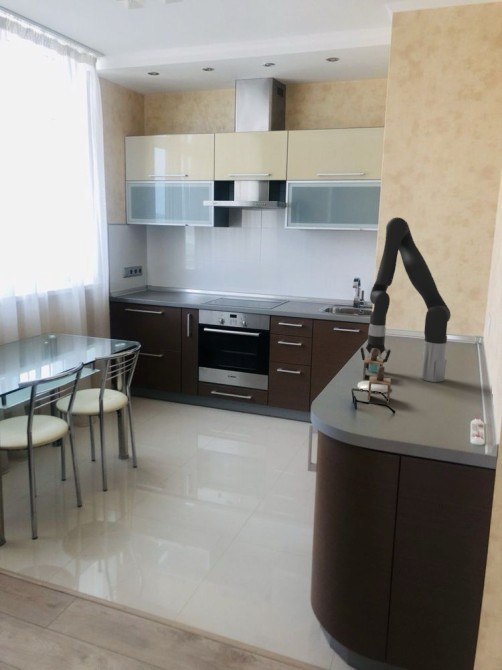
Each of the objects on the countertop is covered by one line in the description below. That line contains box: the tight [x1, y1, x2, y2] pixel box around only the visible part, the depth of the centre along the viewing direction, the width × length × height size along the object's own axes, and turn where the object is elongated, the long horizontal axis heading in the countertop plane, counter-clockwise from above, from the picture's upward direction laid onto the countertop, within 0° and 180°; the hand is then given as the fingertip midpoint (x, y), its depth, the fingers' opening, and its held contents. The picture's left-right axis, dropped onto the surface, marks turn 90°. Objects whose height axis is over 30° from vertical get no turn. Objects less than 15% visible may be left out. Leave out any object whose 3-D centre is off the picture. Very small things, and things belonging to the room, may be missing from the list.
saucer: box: [357, 380, 388, 394], centre depth 230 cm, size 13×13×1 cm
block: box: [368, 357, 380, 374], centre depth 255 cm, size 4×4×6 cm
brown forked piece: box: [362, 348, 384, 381], centre depth 244 cm, size 8×8×13 cm
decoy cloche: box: [367, 365, 392, 405], centre depth 215 cm, size 8×8×13 cm
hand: (373, 369), depth 256 cm, fingers open, 5 cm apart
